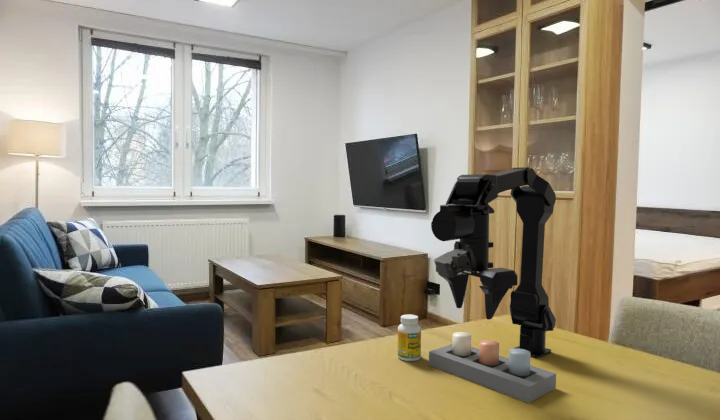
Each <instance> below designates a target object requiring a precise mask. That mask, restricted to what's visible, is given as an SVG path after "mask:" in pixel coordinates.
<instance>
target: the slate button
mask: <svg viewBox="0 0 720 420" xmlns="http://www.w3.org/2000/svg"><path fill="white" fill-rule="evenodd" d="M508 358H509V372H510V373H511V374H514V375H518V376H527V375H529V374H530V365H531V353H530V352H529V351H527V350H524V349H514V348H510V349H509V351H508Z"/></svg>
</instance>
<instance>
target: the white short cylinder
mask: <svg viewBox="0 0 720 420" xmlns="http://www.w3.org/2000/svg"><path fill="white" fill-rule="evenodd" d="M451 341H452V343H451V344H452V353H453V354H455V355H459V356H468V355H470V354H471V347H472V334H470V333H469V332H466V331H465V332H462V331H456V332H453V333H452V340H451Z"/></svg>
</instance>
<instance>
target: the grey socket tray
mask: <svg viewBox="0 0 720 420" xmlns="http://www.w3.org/2000/svg"><path fill="white" fill-rule="evenodd" d="M428 366H430V367H433V368H435V369H438V370H441V371H444V372H447V373H449V374H452V375H454V376H457V377H459V378H462V379H464V380H466V381H467V380H468V381H469V382H473V383H475V384H478V385H480V386H484V387H486V388H489V389H490V390H494V391H496V392H499V393H501V394H504V395H506V396H508V397H512V398H514V399H517V400H520V401H523V402H524V403H528V404H530V403H532V402H533V401H535V400H537V399H539V398H541V397H543V396H544V395H546V394H548V393H550V392H552V391H554V390H555V389H556V388H557V387H556V386H557V385H556V384H557V372H553V371H550V370H547V369H543V368H540V367H537V366H533V365H531V364H530V374H529V375H527V376H518V375H514V374H511V373H510V372H509V357H506V356H502V355H499V364H497V365H485V364H482V363H480V362H479V348H476V347H473V346H471V354H470V355H468V356H459V355H455V354H453V353H452V343H451V344H449V345H446V346H445V345H444V346H442V347H439V348H436V349H434V350H430V351H428Z"/></svg>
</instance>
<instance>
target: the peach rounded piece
mask: <svg viewBox="0 0 720 420" xmlns="http://www.w3.org/2000/svg"><path fill="white" fill-rule="evenodd" d="M478 343H479V344H478V349H479V362H480V363H482V364H485V365H497V364H499V356H500V342H498V341H497V340H492V339H481V340H479V342H478Z"/></svg>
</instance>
